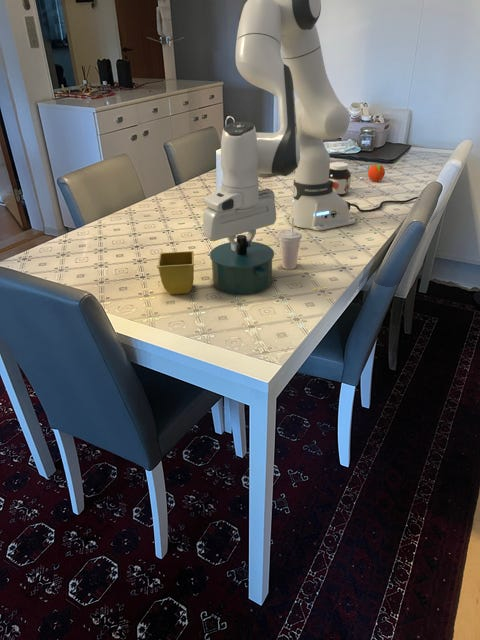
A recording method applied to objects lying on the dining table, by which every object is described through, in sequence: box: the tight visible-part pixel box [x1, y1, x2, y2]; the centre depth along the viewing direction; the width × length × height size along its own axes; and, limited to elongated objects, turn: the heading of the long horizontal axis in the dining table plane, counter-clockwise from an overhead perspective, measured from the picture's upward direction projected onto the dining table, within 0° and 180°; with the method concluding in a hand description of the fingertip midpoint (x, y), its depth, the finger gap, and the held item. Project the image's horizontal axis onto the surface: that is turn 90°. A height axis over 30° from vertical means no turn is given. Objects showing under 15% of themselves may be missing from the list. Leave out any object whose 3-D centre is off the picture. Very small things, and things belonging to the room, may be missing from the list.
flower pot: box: [157, 250, 195, 295], centre depth 125 cm, size 9×9×9 cm
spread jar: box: [329, 161, 352, 198], centre depth 193 cm, size 12×11×12 cm
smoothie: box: [277, 218, 303, 270], centre depth 135 cm, size 6×6×14 cm
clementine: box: [367, 164, 386, 182], centre depth 207 cm, size 8×7×7 cm
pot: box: [211, 259, 273, 296], centre depth 129 cm, size 16×21×8 cm
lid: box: [209, 234, 275, 269], centre depth 126 cm, size 17×17×6 cm
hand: (241, 248), depth 126 cm, fingers closed on lid, 2 cm apart
